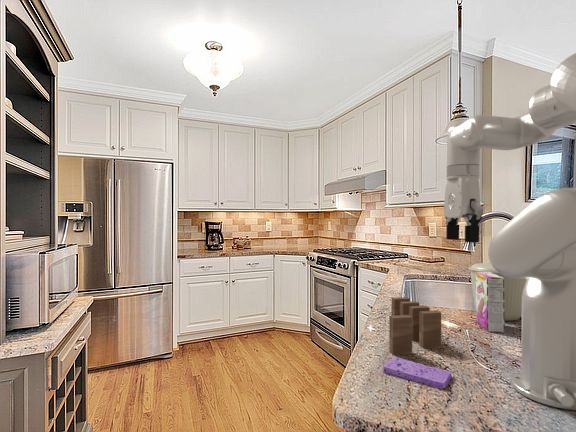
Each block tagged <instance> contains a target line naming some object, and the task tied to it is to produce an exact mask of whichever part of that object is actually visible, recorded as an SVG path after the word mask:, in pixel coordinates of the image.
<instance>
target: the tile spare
mask: <svg viewBox="0 0 576 432" xmlns="http://www.w3.org/2000/svg"><path fill="white" fill-rule="evenodd" d="M388 323H389V330H388V331H389V334H388V335H389V337H388V338H389V339H388V341H389V342H388V343H389V345H388V346H389V347H388V349H389V351H388V352H389V354H391V355H393V356H394V355H395V356H397V355H398V356H399V355H412V354H413V341H412V317H411V316H409V315H393V316H391V315H389V322H388Z"/></svg>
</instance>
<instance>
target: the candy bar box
mask: <svg viewBox="0 0 576 432" xmlns="http://www.w3.org/2000/svg"><path fill="white" fill-rule="evenodd" d="M475 273H476V309H475V322H476V323H477V324H479V325H480V326H481V327H482V328H483V329H484V330H485V331H487V332H488V333H489V332H490V333H502V334H503V333H504V334H505V333H506V331H505V330H506V329H505V320H504V278H503V277H500V276H498V275H496V274H493V273H491V272H475Z"/></svg>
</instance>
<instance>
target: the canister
mask: <svg viewBox="0 0 576 432" xmlns="http://www.w3.org/2000/svg"><path fill="white" fill-rule="evenodd" d="M468 270H469V271H470V278H471V288H472V297H473V303H474V308H475V310H476V273H475V272H491V273H493V274H496V275H498V276H500V277H503V278H504V320H505V321H506V322H508V321H509V322H511V321H512V322H513V321H517V320H518V319H519V318H521V317H522V293H523V289H524V286H525V283H526V281H527V279H528V278H526V279H520V278H511V277H507V276H504V275H502V274H500V273H499V272H498V271H496V270H495V269H494V268H493V266H492V265H491V263H490V262H479V263H474V264H472V265H471V266H468Z"/></svg>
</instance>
